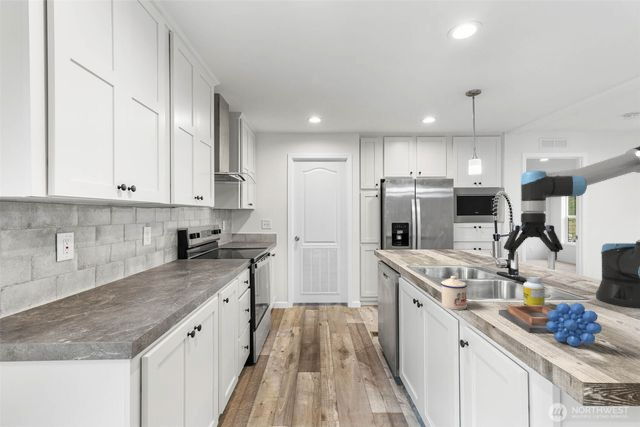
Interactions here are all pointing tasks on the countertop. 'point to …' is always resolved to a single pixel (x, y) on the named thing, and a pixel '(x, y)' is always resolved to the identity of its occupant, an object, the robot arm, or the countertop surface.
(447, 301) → the teacup with lid
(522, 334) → the countertop surface
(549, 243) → the robot arm
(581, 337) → the blue bumpy cluster
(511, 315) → the socket board
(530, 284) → the pill bottle
